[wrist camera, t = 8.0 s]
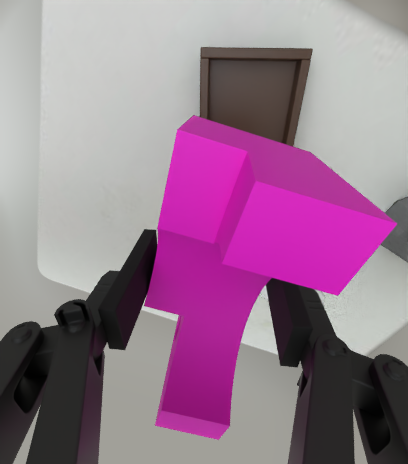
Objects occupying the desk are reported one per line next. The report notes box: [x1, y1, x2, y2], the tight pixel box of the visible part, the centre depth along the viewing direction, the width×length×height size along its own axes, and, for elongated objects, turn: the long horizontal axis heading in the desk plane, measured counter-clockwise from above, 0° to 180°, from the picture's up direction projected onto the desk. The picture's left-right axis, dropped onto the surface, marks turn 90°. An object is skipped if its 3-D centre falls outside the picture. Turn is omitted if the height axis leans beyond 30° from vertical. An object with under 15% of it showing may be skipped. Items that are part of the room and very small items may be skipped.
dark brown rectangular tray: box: [200, 47, 313, 147], centre depth 28 cm, size 19×10×3 cm, turn 179°
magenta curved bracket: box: [144, 115, 397, 439], centre depth 13 cm, size 15×6×8 cm, turn 164°
